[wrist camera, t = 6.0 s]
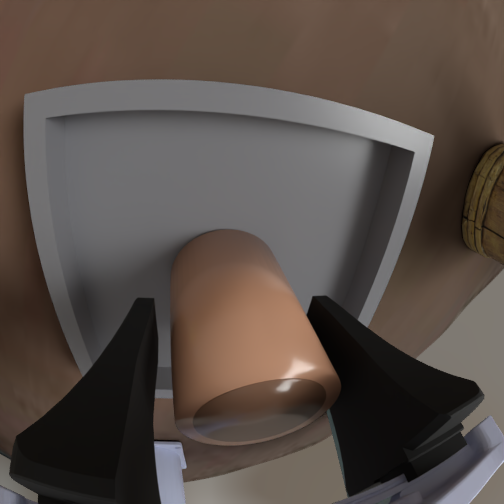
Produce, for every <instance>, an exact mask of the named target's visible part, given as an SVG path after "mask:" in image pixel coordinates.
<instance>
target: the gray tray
mask: <svg viewBox="0 0 504 504" xmlns="http://www.w3.org/2000/svg"><path fill="white" fill-rule="evenodd" d="M433 140H434V136H433V135H431V134H428V133H426V132H423V131H421V130H419V129H416V128H414V127H411V126H408V125H406V124H403V123H400V122H398V121H395V120H392V119H389V118H386V117H383V116H380V115H377V114H374V113H371V112H368V111H365V110H362V109H358V108H355V107H351V106H348V105H344V104H340V103H337V102H333V101H329V100H325V99H321V98H316V97H312V96H307V95H303V94H298V93H293V92H288V91H282V90H276V89H270V88H264V87H257V86H250V85H242V84H233V83H223V82H211V81H196V80H124V81H109V82H98V83H88V84H80V85H73V86H66V87H60V88H54V89H48V90H43V91H38V92H34V93H29V94H25V97H24V158H25V172H26V182H27V191H28V199H29V206H30V212H31V218H32V224H33V229H34V234H35V239H36V244H37V248H38V253H39V257H40V261H41V265H42V269H43V272H44V276H45V279H46V283H47V286H48V290H49V293H50V296H51V299H52V302H53V305H54V308H55V311H56V314H57V317H58V319H59V322H60V325H61V327H62V330H63V333H64V335H65V338H66V340H67V342H68V345H69V347H70V350H71V352H72V354H73V356H74V359H75V361H76V363H77V365H78V367H79V370H80V372H81V374H82V376H84V375H85V374H86V373H87V372H88V370H89V369H90V368H91V367H92V365H93V364H94V363H95V362H96V360H97V359H98V358H99V356H100V355H101V354H102V352H103V351H104V349H105V348H106V347H107V345H108V344H109V342H110V341H111V339H112V338H113V336H114V335H115V333H116V332H117V330H118V329H119V327H120V325H121V324H122V322H123V321H124V319H125V317H126V316H127V314H128V312H129V310H130V308H131V307H132V305H133V303H134V301H135V299H137V298H138V297H139V298H154V301H155V311H156V320H157V329H158V337H159V342H158V369H157V379H156V389H155V398H173V389H172V371H171V346H170V274H171V268H172V265H173V262H174V260H175V258H176V257H177V255H178V253H179V252H180V251H181V250H182V249H183V248H184V247H185V246H186V245H187V244H188V243H189V242H191V241H192V240H193V239H195V238H197V237H199V236H201V235H203V234H206V233H208V232H212V231H217V230H225V229H232V230H240V231H245V232H248V233H250V234H253V235H255V236H257V237H258V238H260V239H261V240H262V241H264V242H265V243H266V244H267V245H268V246H269V248H270V249H271V251H272V252H273V254H274V256H275V258H276V260H277V262H278V263H279V265H280V267H281V269H282V271H283V273H284V275H285V276H286V278H287V280H288V282H289V284H290V286H291V288H292V289H293V291H294V293H295V295H296V297H297V299H298V301H299V303H300V304H301V306H302V308H303V310H304V312H305V314H306V315H307V312H308V309H309V306H310V303H311V299H312V296H323V295H326V296H328V297H329V298H331V299H332V300H333V301H335V302H336V303H337V304H338V305H340V306H341V307H342V308H343V309H345V310H346V311H347V312H348V313H350V314H351V315H352V316H353V317H355V318H356V319H357V320H358V321H360V322H361V323H362V324H363V325H365V326H366V327H368V325H369V323H370V321H371V319H372V317H373V315H374V313H375V311H376V309H377V306H378V304H379V302H380V300H381V298H382V295H383V293H384V291H385V288H386V286H387V284H388V281H389V279H390V277H391V274H392V272H393V269H394V267H395V264H396V262H397V259H398V257H399V254H400V252H401V249H402V246H403V243H404V241H405V238H406V235H407V232H408V229H409V226H410V224H411V221H412V218H413V214H414V211H415V208H416V205H417V202H418V198H419V195H420V192H421V188H422V185H423V181H424V177H425V174H426V170H427V166H428V162H429V158H430V153H431V149H432V145H433Z"/></svg>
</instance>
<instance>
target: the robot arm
mask: <svg viewBox="0 0 504 504" xmlns="http://www.w3.org/2000/svg"><path fill="white" fill-rule="evenodd" d="M306 316H307V318H308V320H309V321H310V323H311V325H312V327H313V329H314V331H315V333H316V335H317V337H318V339H319V341H320V342H321V344H322V346H323V348H324V350H325V352H326V354H327V356H328V358H329V360H330V362H331V364H332V366H333V368H334V369H335V371H336V373H337V375H338V377H339V379H340V382H341V391H340V394H339V396H338V398H337V400H336V401H335V402H334V404H333V405H332V406H331V407H330V408H329V410H330V413H331V416H332V420H333V423H334V427H335V431H336V435H337V439H338V443H339V448H340V453H341V458H342V463H343V469H344V477H345V485H346V491H347V493H348V496H349V498H346V499H344V500H341V501H338V502H335V503H332V504H375V503H378V502H380V501H382V500H384V499H386V498H388V497H390V496H392V495H393V496H392V497H391V499H390V502H389V503H388V504H469V503H470V502H471V501H472V500H473V499H474V497H475V496H476V495H477V494H478V493H479V491H480V490H481V489H482V488H483V487H484V485H485V484H486V483H487V481H488V480H489V479H490V478H491V476H492V475H493V474H494V472H495V471H496V470H497V469H498V468H499V467H500V465H501V464H502V463H503V462H504V436H503V434H502V433H501V431H500V429H499V428H498V426H497V424H496V423H495V421H494V419H493V418H492V416H488V417H487V418H485V419H484V420H483V421H482V422H480V423H479V424H478V425H477V426H476V427H474V428H473V429H472V430H471V431H470V432H468V433H467V434H466V435H465V436H464V437H463V436H462V434H461V432H460V431H462V430H463V429H464V427H463V425H462V424H461V422H462V421H463V420H464V419H465V418H466V417H467V416H468V415H469V414H470V413H471V412H473V410H475V409H476V407H478V405H479V404H480V403H481V402H482V401H483V399H484V394H483V392H482V391H481V389H480V388H479V387H478V385H477V384H476V383H475V382H474V381H471V380H468V379H464V378H461V377H457V376H454V375H451V374H448V373H446V372H443V371H440V370H438V369H435V368H433V367H431V366H428V365H426V364H424V363H422V362H420V361H418V360H416V359H414V358H412V357H411V356H409V355H407V354H405V353H404V352H402V351H400V350H399V349H397V348H395V347H394V346H392V345H391V344H389V343H388V342H386V341H385V340H383V339H382V338H381V337H379V336H378V335H376V334H375V333H374V332H372V331H371V330H370V329H368V328H367V327H366V326H365V325H363V324H362V323H361V322H360V321H358V320H357V319H356V318H355V317H353V316H352V315H351V314H350V313H348V312H347V311H346V310H345V309H343V308H342V307H341V306H340V305H338V304H337V303H336V302H335V301H333V300H332V299H331V298H329V297H328V296H326V295H323V296H312V299H311V303H310V306H309V309H308V312H307V315H306ZM158 342H159V337H158V329H157V320H156V311H155V301H154V298H139V297H138V298H137V299H135V301H134V303H133V305H132V307H131V308H130V310H129V312H128V314H127V316H126V317H125V319H124V321H123V322H122V324H121V325H120V327H119V329H118V330H117V332H116V333H115V335H114V336H113V338H112V339H111V341H110V342H109V344H108V345H107V347H106V348H105V349H104V351H103V352H102V354H101V355H100V356H99V358H98V359H97V360H96V362H95V363H94V364H93V365H92V367H91V368H90V369H89V370H88V372H87V373H86V374H85V375H84V376H83V378H82V379H81V380H80V381H79V382H78V383H77V384H76V385H75V386H74V387H73V388H72V390H71V391H70V392H69V393H68V394H67V395H66V396H65V397H64V398H63V399H62V400H61V401H59V402H58V403H57V404H56V405H55V406H54V407H53V408H52V409H51V410H49V411H48V412H47V413H46V414H45V415H44V416H43V417H41V418H40V419H39V420H38V421H36V422H35V423H34V424H32V425H31V426H30V427H28V428H27V429H26V430H24V431H23V432H22V433H20V434H19V435H17V436H16V439H15V443H14V446H13V451H12V457H11V464H10V472H9V475H10V476H11V478H12V479H13V480H15V481H16V482H18V483H19V484H21V485H23V486H24V487H26V488H28V489H30V490H32V491H33V492H35V493H37V494H38V503H37V502H34V501H31V500H29V499H26V498H25V497H24V496H22V495H20V494H18V493H15V492H14V491H11V490H9V489H7V488H5V487H3V486H1V485H0V504H186V501H185V494H184V486H183V477H182V469H185V468H187V467H186V462H185V457H184V453H183V448H182V444H181V443H180V442H161V441H154V431H153V412H154V400H155V389H156V379H157V369H158ZM376 486H377V487H376ZM369 489H370V490H369ZM364 491H365V492H364ZM359 493H360V494H359Z"/></svg>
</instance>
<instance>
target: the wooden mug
mask: <svg viewBox="0 0 504 504" xmlns="http://www.w3.org/2000/svg"><path fill="white" fill-rule="evenodd" d="M462 230H463V239H464V241H465V243H466V245H467V246H468V247H469V248H470V249H471V250H473V251H475V252H477V253H478V254H480V255H482V256H484V257H486V258H493V259H495V260H496V261H498V262H500V263H501V264H503V265H504V144H500V145H497V146H494V147H491V148H490V149H489V150H488V151H486V152H485V153H484V154H483V156H482V158H481V160H480V162H479V164H478V165H477V167H476V169H475V171H474V173H473V175H472V178H471V180H470V182H469V185H468V189H467V193H466V197H465V203H464V210H463V221H462Z"/></svg>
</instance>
